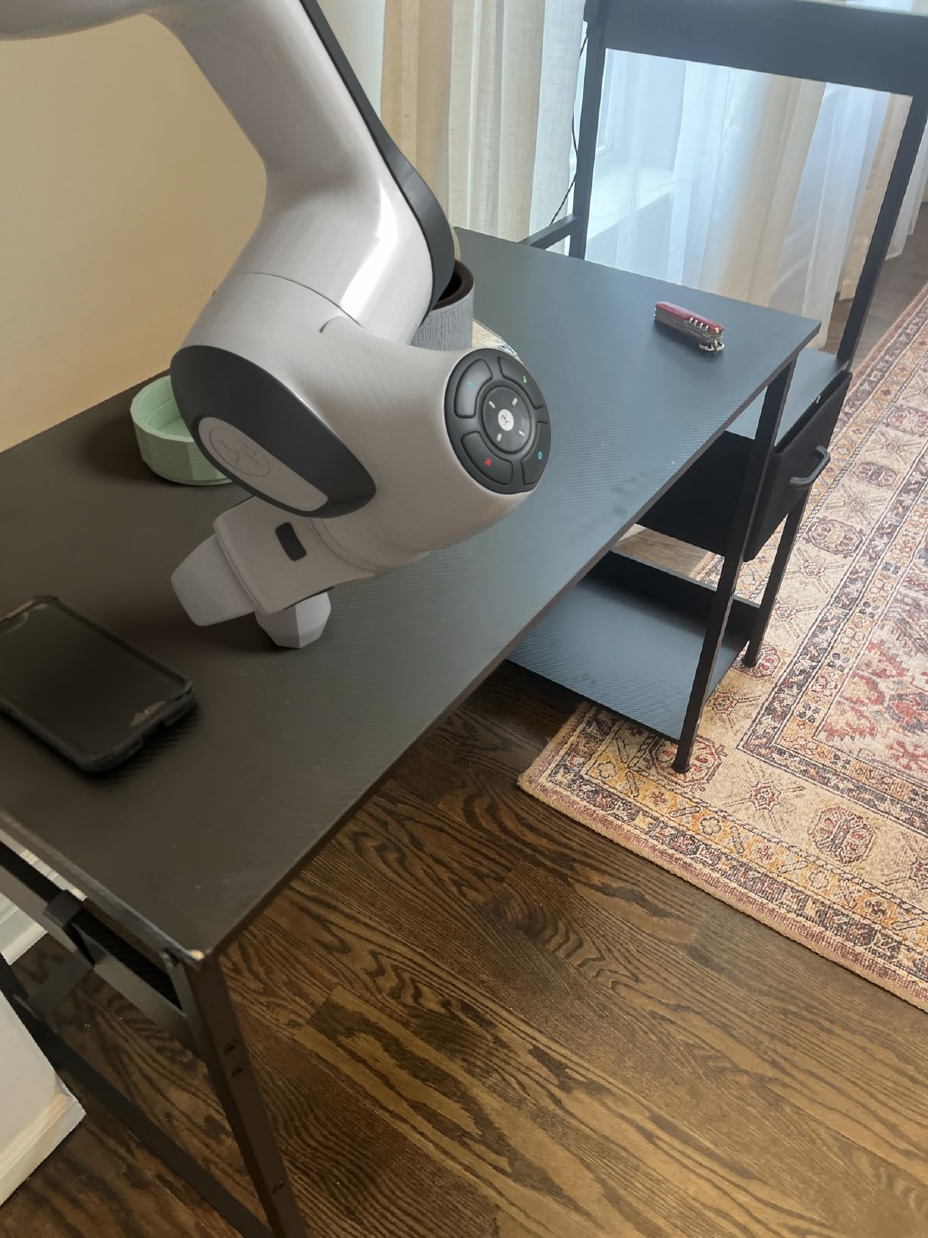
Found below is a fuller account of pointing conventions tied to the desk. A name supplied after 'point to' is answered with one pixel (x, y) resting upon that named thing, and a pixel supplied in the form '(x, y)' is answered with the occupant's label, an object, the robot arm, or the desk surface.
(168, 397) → the bowl
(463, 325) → the planter
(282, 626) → the grey tapered column
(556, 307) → the desk surface
